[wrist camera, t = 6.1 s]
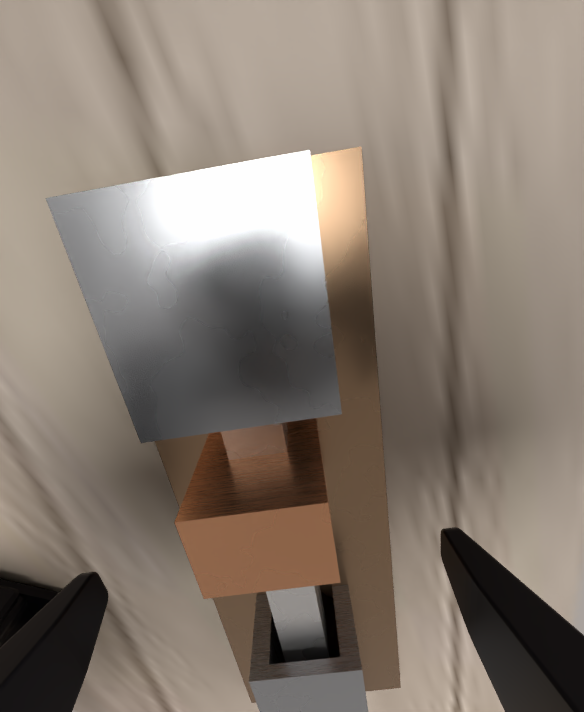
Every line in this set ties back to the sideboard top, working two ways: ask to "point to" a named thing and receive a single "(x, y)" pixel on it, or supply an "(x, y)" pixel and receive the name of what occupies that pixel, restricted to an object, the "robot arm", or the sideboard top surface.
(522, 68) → the sideboard top surface
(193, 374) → the tube base
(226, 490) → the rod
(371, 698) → the sideboard top surface
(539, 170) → the sideboard top surface
